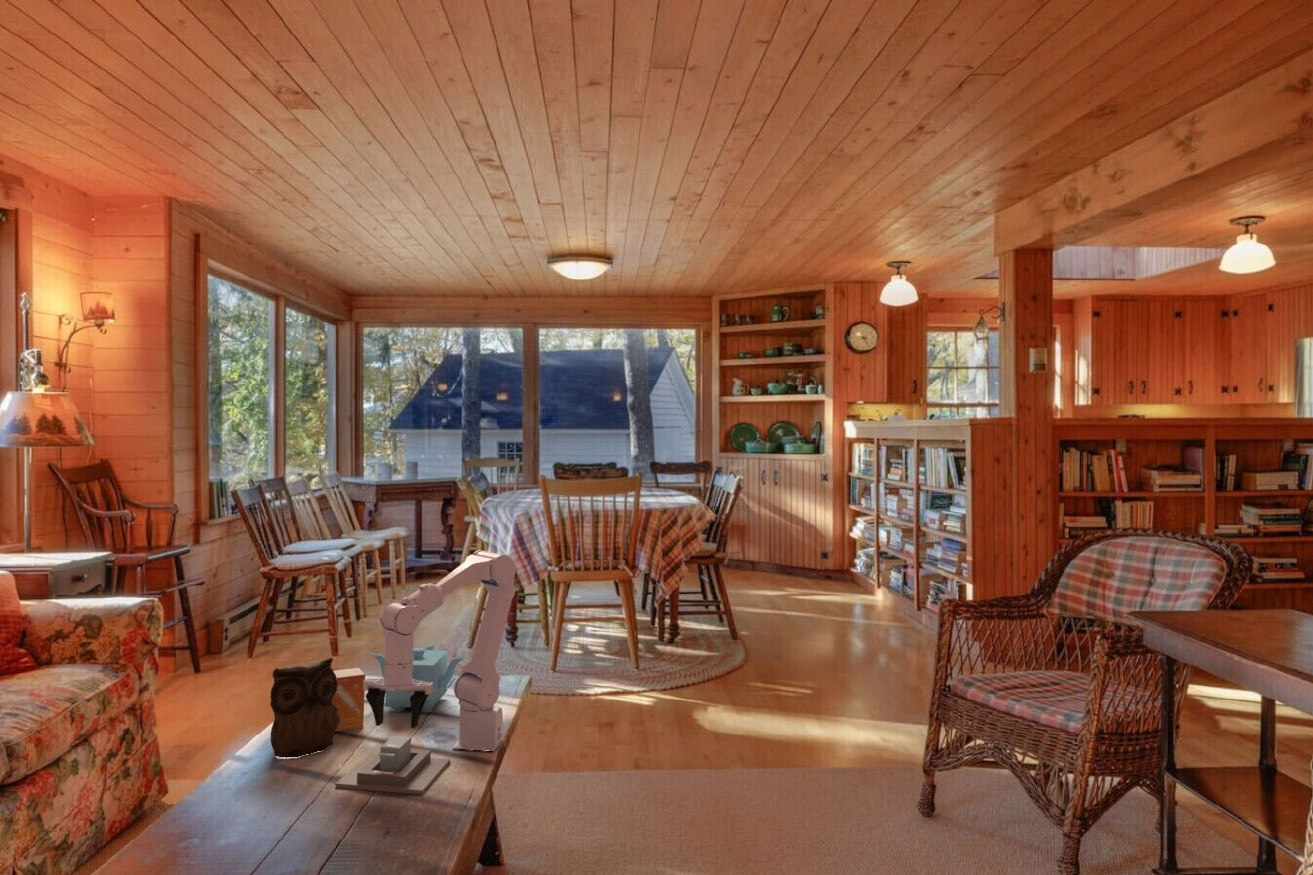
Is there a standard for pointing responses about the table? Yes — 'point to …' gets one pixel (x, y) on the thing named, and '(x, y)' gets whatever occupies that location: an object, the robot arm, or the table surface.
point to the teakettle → (423, 677)
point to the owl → (303, 708)
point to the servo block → (395, 754)
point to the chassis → (395, 774)
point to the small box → (349, 698)
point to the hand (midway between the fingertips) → (397, 725)
